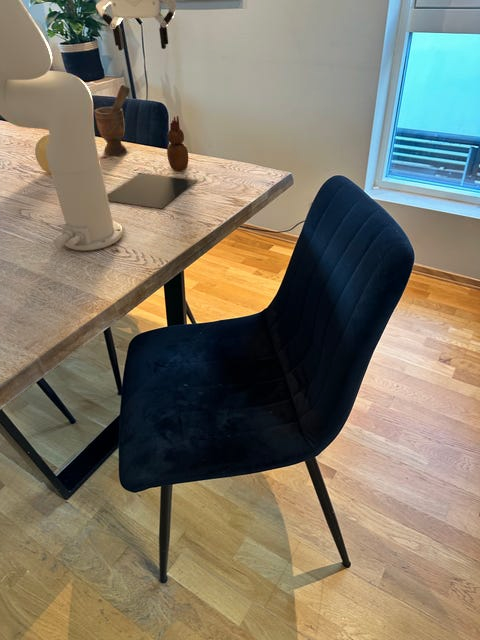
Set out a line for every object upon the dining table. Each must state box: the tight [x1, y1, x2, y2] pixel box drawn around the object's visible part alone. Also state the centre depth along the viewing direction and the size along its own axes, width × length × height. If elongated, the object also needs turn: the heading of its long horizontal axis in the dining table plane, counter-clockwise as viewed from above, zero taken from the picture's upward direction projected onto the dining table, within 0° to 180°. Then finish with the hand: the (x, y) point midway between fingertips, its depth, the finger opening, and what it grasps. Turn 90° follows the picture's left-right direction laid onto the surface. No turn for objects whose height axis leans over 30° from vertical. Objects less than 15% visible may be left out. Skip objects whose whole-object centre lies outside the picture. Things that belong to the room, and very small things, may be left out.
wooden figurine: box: [166, 115, 189, 172], centre depth 122 cm, size 7×6×15 cm
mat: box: [107, 173, 197, 210], centre depth 114 cm, size 20×18×1 cm
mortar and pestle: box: [93, 84, 130, 157], centre depth 135 cm, size 12×9×20 cm
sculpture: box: [34, 134, 51, 175], centre depth 124 cm, size 11×12×11 cm
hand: (142, 48), depth 97 cm, fingers open, 9 cm apart
